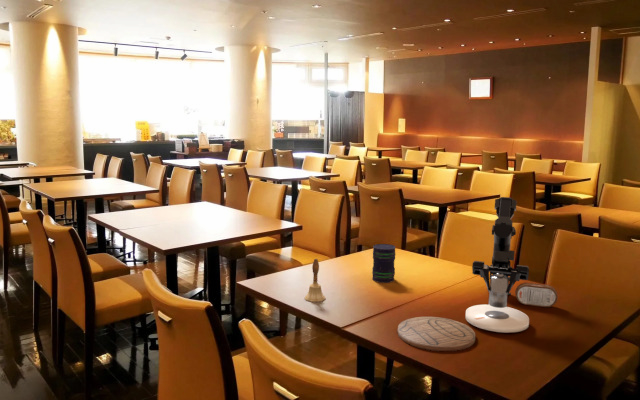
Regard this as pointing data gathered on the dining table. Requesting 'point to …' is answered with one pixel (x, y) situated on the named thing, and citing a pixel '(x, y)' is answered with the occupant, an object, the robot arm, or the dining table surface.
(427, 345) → the trivet
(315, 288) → the hand bell
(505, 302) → the grey metal cylinder
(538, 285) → the tin
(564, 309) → the dining table surface
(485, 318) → the turntable
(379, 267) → the storage jar
